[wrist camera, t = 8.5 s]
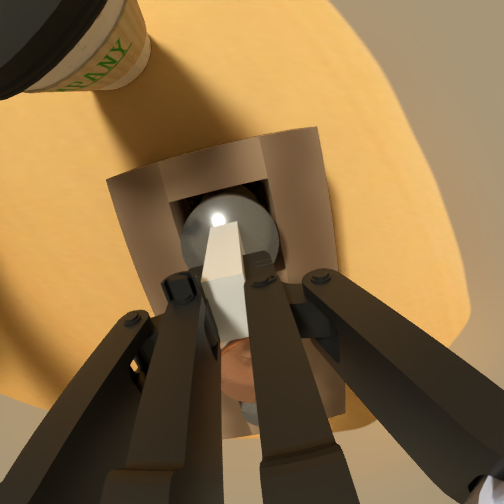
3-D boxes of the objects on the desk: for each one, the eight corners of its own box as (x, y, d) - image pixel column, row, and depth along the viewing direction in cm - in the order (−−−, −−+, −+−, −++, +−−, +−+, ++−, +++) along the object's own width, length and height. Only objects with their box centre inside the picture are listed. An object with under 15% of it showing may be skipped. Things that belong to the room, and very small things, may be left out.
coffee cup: (48, 96, 19) (-83, 90, 5) (97, -2, 16) (6, -78, 2) (140, 127, 21) (22, 123, 7) (195, 20, 18) (160, -99, 4)
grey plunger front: (204, 255, 24) (196, 297, 18) (185, 189, 22) (168, 210, 16) (271, 240, 24) (286, 277, 18) (256, 172, 22) (268, 186, 16)
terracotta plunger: (227, 348, 25) (228, 409, 18) (208, 292, 22) (202, 350, 16) (292, 334, 24) (310, 392, 18) (281, 276, 22) (300, 330, 16)
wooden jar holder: (219, 398, 32) (219, 439, 26) (134, 168, 22) (106, 179, 16) (329, 374, 32) (345, 413, 26) (295, 128, 22) (316, 126, 16)
